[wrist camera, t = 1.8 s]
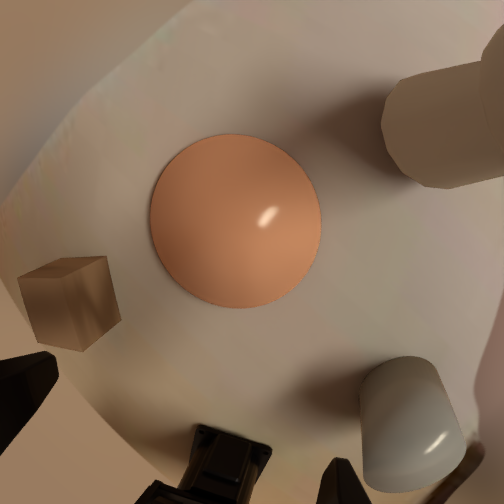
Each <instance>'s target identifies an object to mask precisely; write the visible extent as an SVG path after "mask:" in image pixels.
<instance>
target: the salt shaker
mask: <svg viewBox="0 0 504 504" xmlns="http://www.w3.org/2000/svg"><path fill="white" fill-rule="evenodd" d="M380 125H381V129H382V133H383V137H384V141H385V145H386V149H387V151H388V153H389V154H390V156H391V157H392V158H393V160H394V161H395V163H396V164H397V166H398V167H399V169H400V170H401V172H402V173H403V174H405V175H407V176H409V177H410V178H412V179H413V180H415V181H417V182H418V183H420V184H422V185H423V186H425V187H433V188H442V189H451V188H455V187H460V186H464V185H468V184H472V183H476V182H480V181H484V180H488V179H493V178H497V177H501V176H504V24H503V25H502V26H501V27H500V28H499V29H498V30H497V31H496V33H495V34H494V36H493V37H492V39H491V40H490V42H489V43H488V45H487V46H486V48H485V49H484V51H483V53H482V57H481V61H477V62H472V63H468V64H463V65H458V66H454V67H449V68H445V69H440V70H435V71H430V72H425V73H421V74H418V75H414V76H411V77H408V78H405V79H402V80H400V81H399V83H398V84H397V85H396V86H395V88H394V89H393V90H392V92H391V93H390V94H389V95H388V97H387V98H386V101H385V106H384V111H383V115H382V119H381V124H380Z"/></svg>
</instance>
